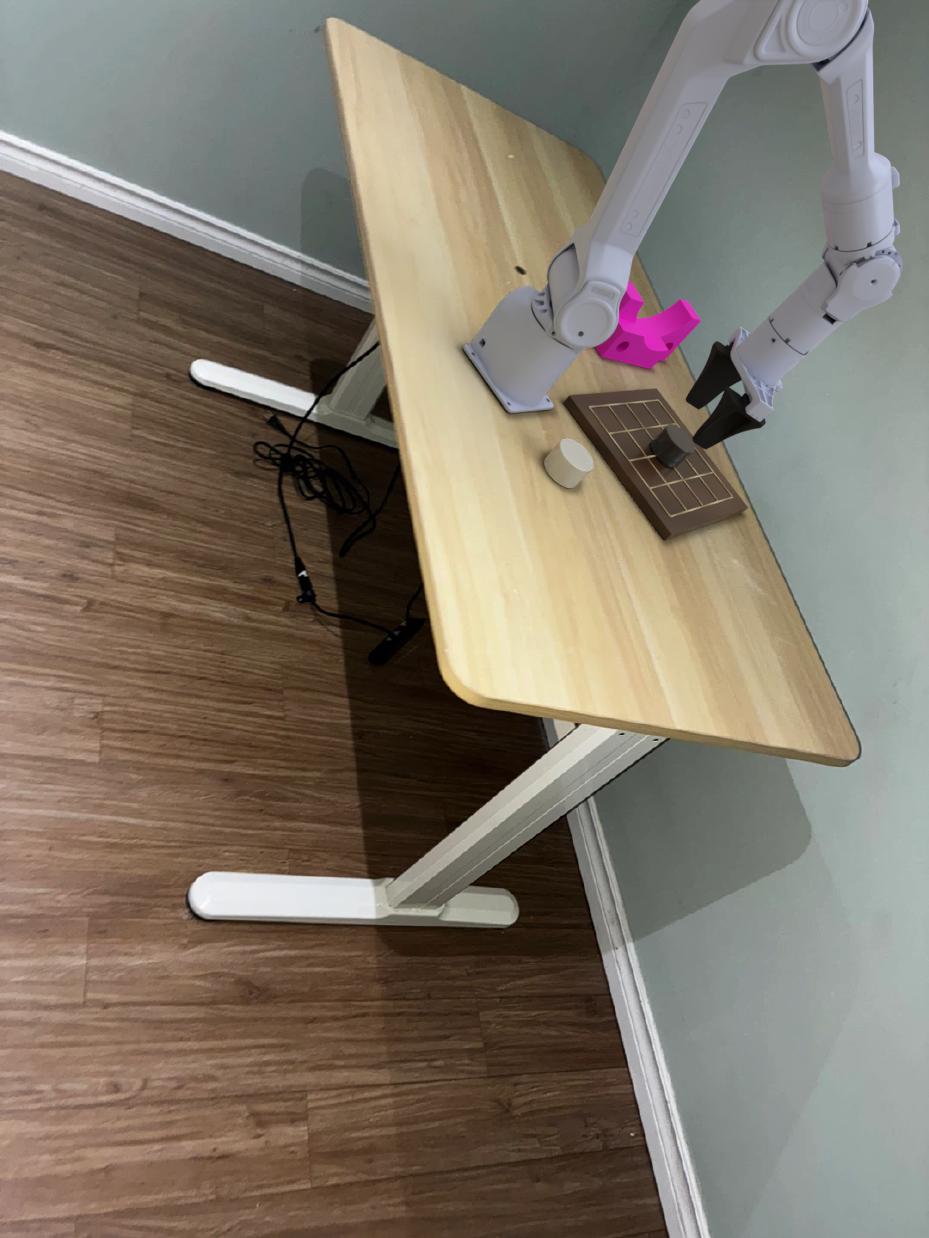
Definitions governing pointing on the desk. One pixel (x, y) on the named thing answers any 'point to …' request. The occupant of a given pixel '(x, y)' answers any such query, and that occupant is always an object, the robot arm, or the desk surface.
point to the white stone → (568, 463)
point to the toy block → (647, 331)
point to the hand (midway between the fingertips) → (695, 423)
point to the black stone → (672, 446)
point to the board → (655, 461)
